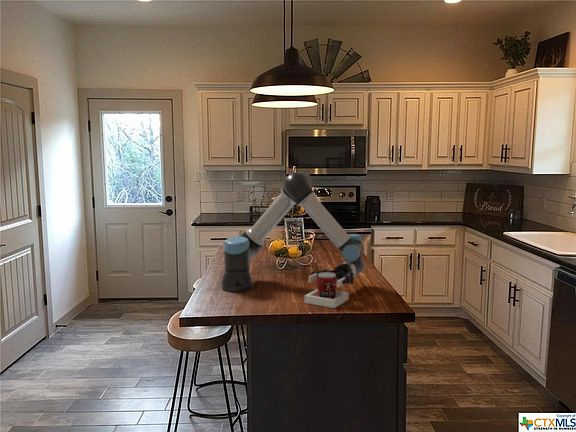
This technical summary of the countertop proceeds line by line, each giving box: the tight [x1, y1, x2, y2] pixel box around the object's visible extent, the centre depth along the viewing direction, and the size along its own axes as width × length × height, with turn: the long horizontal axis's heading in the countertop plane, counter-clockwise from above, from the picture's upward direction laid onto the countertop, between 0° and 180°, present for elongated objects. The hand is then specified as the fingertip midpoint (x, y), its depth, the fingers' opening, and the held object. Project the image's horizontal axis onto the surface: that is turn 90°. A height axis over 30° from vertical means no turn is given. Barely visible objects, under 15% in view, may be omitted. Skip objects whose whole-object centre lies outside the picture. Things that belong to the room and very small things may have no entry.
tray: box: [304, 288, 350, 309], centre depth 200 cm, size 14×14×3 cm
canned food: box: [317, 272, 337, 299], centre depth 199 cm, size 8×8×11 cm
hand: (323, 281), depth 196 cm, fingers open, 13 cm apart
